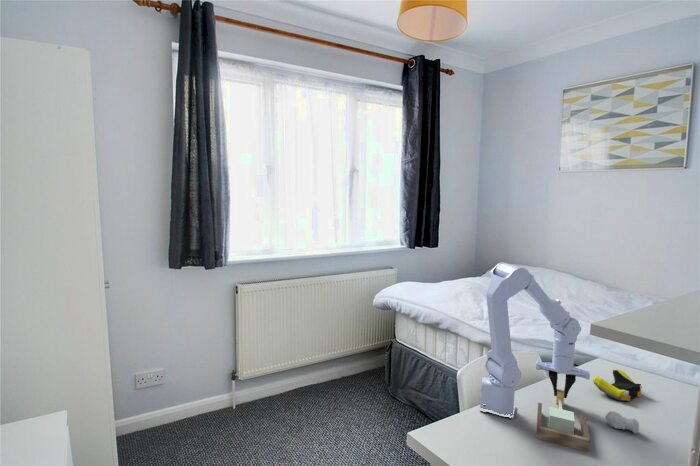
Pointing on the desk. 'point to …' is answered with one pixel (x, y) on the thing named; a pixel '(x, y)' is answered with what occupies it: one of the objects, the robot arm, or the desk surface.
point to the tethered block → (561, 416)
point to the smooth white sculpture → (622, 422)
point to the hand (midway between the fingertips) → (560, 395)
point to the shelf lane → (564, 434)
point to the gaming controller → (619, 386)
